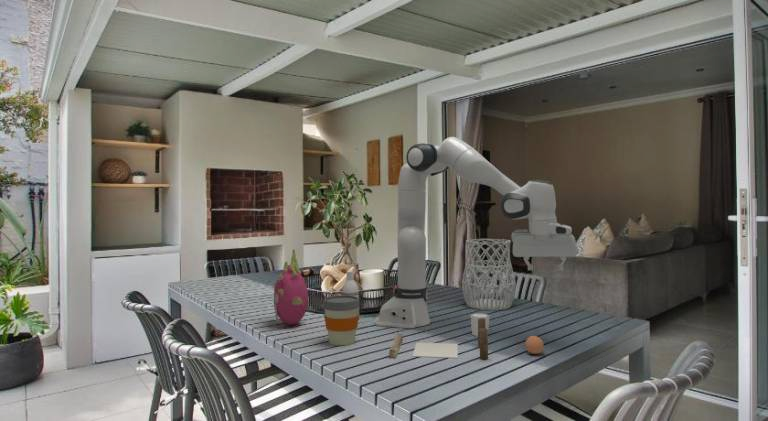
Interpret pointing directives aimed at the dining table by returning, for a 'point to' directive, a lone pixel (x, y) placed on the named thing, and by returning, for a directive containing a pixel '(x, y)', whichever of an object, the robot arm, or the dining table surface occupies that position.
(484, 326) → the post
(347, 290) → the bath foam
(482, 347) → the post
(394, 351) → the stopper rail
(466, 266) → the vase
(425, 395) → the dining table surface
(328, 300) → the reusable coffee cup
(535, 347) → the ball
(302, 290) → the pink dragon fruit
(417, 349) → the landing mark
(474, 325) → the shot glass
